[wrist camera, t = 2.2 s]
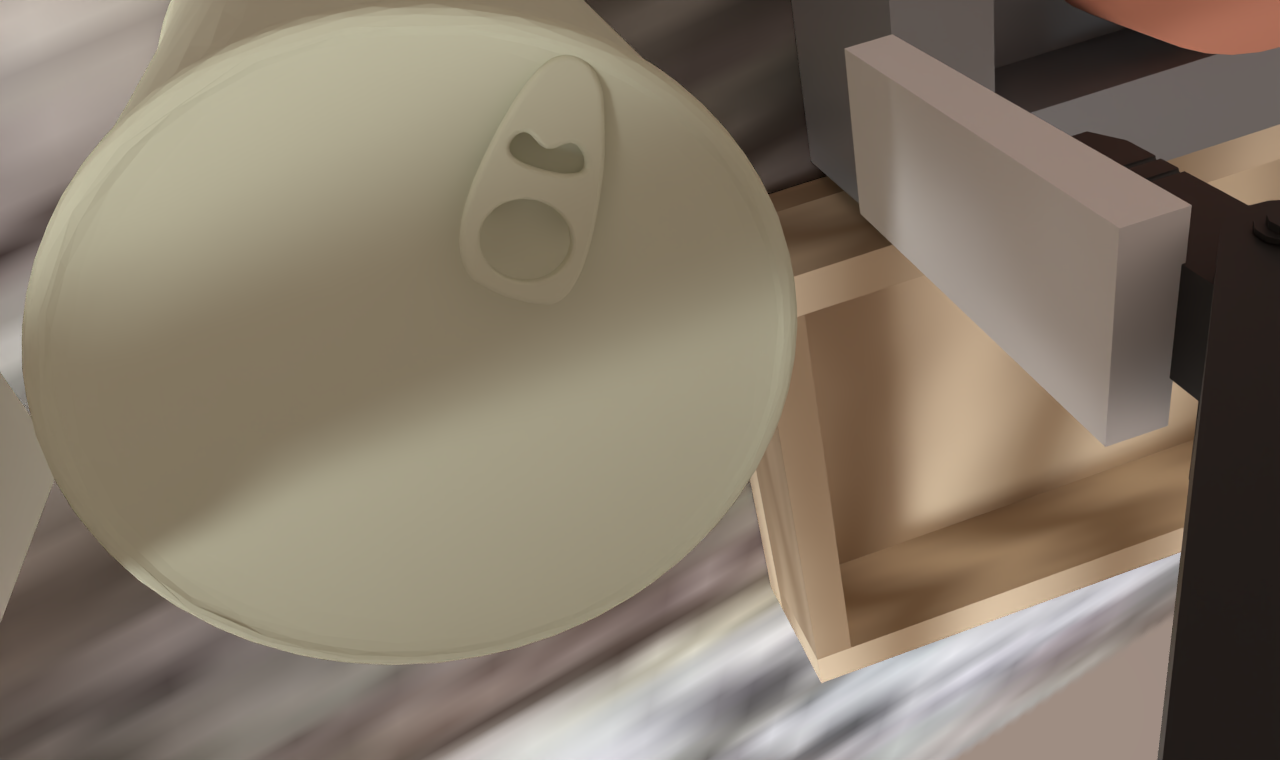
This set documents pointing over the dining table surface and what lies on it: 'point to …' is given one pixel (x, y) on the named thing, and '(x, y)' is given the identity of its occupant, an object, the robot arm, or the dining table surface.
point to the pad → (1196, 22)
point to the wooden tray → (946, 449)
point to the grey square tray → (1038, 73)
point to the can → (406, 324)
